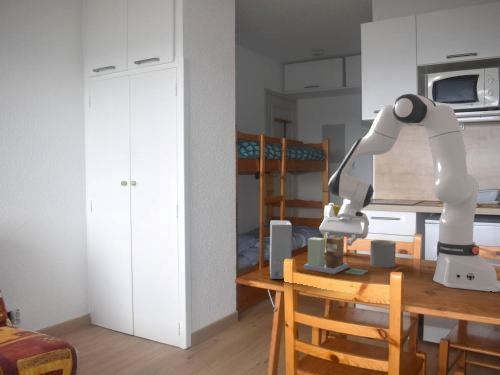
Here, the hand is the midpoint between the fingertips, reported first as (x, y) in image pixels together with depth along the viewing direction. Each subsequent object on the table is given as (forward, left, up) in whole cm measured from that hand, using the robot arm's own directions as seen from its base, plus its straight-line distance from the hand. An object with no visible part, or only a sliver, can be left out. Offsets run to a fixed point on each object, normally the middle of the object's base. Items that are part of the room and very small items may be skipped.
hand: (337, 243), depth 180 cm
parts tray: (+2, +6, -10) cm, 12 cm away
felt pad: (-10, +4, -10) cm, 14 cm away
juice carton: (+14, -26, -10) cm, 31 cm away
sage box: (+5, +9, -9) cm, 14 cm away
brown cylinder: (0, +3, -9) cm, 10 cm away
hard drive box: (+13, +24, -10) cm, 29 cm away
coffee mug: (-14, -16, -10) cm, 24 cm away
